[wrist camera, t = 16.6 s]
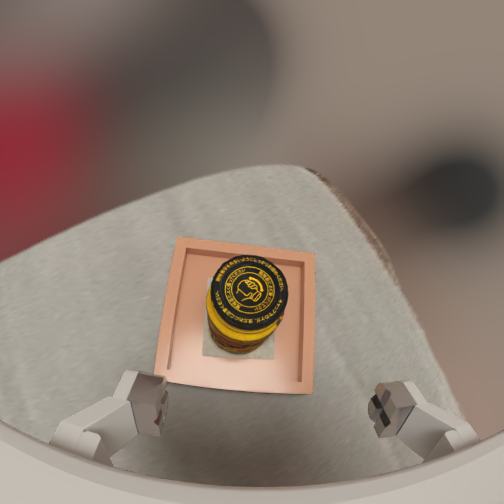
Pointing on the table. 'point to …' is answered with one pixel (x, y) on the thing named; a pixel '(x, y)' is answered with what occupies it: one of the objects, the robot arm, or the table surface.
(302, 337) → the tray
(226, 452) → the table surface
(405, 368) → the table surface
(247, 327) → the condiment
